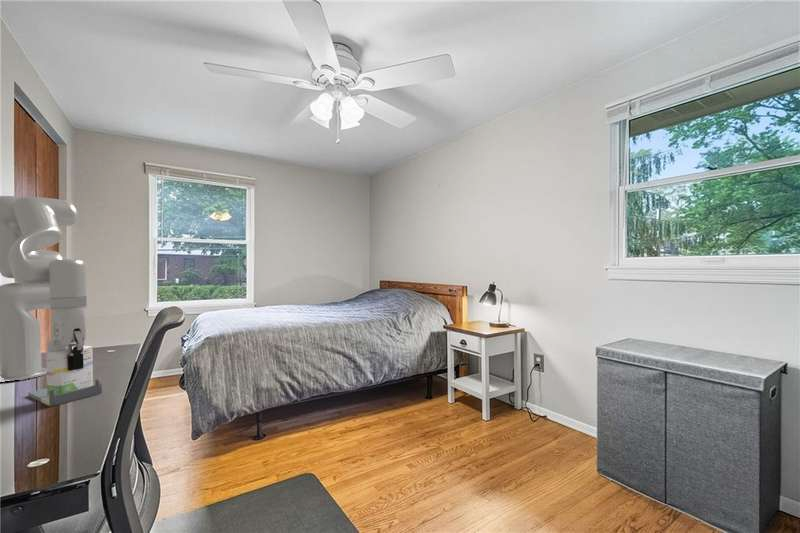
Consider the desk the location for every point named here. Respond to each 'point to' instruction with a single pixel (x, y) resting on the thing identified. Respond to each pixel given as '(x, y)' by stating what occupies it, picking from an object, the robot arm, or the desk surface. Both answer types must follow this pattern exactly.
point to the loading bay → (66, 394)
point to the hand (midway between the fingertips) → (70, 367)
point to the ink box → (59, 372)
